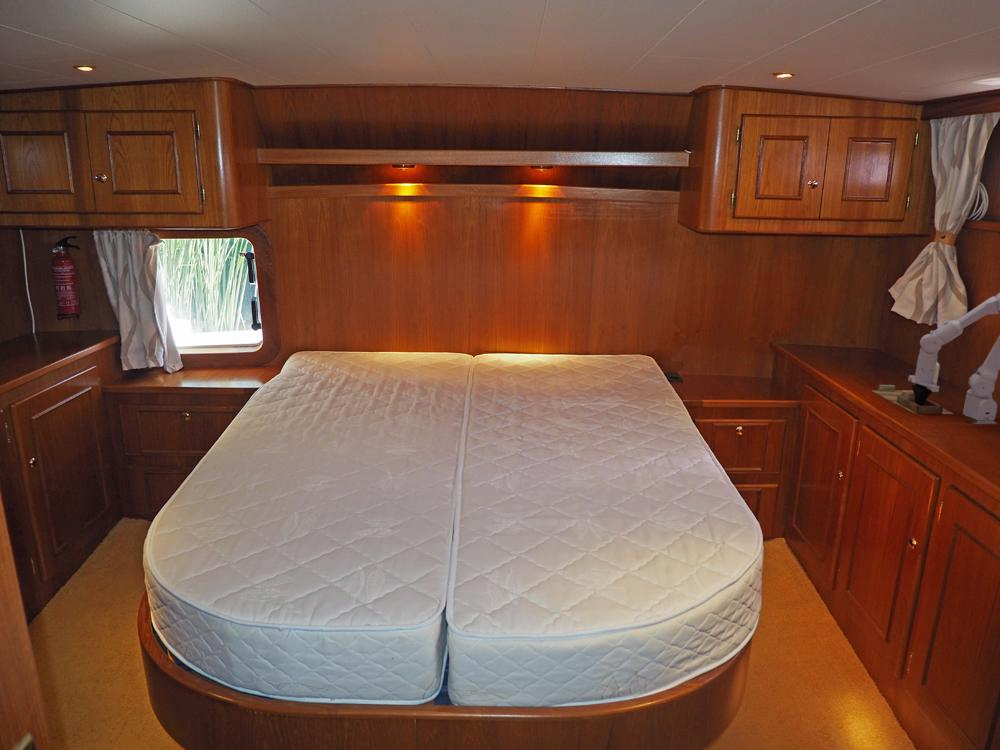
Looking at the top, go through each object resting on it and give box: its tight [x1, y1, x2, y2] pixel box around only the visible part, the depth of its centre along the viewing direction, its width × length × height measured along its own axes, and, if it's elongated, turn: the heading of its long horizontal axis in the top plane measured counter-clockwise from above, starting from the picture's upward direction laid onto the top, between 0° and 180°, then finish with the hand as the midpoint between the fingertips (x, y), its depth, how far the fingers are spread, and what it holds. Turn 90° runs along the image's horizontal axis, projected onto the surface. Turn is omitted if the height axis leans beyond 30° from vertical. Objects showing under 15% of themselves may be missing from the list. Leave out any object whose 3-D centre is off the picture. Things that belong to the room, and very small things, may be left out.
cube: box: [901, 390, 915, 403], centre depth 257 cm, size 4×4×4 cm
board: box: [870, 384, 954, 415], centre depth 259 cm, size 28×14×4 cm, turn 2°
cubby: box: [897, 396, 944, 415], centre depth 252 cm, size 13×8×2 cm, turn 2°
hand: (919, 405), depth 252 cm, fingers closed
